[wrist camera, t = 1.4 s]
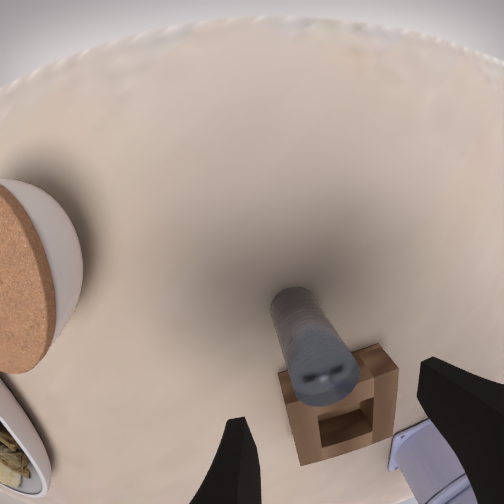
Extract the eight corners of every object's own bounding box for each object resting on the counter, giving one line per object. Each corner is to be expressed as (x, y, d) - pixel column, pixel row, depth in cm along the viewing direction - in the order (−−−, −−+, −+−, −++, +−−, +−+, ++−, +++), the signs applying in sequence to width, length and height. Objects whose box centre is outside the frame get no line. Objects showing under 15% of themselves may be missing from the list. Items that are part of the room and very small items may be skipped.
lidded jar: (115, 326, 19) (57, 414, 10) (9, 310, 18) (-60, 364, 9) (106, 168, 17) (10, 167, 7) (-6, 180, 16) (-95, 191, 7)
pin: (311, 281, 19) (358, 344, 11) (317, 321, 20) (360, 395, 12) (266, 293, 19) (288, 365, 11) (275, 332, 20) (298, 413, 12)
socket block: (378, 343, 21) (398, 367, 17) (377, 411, 23) (391, 436, 19) (277, 373, 21) (285, 404, 17) (293, 437, 23) (300, 466, 19)
